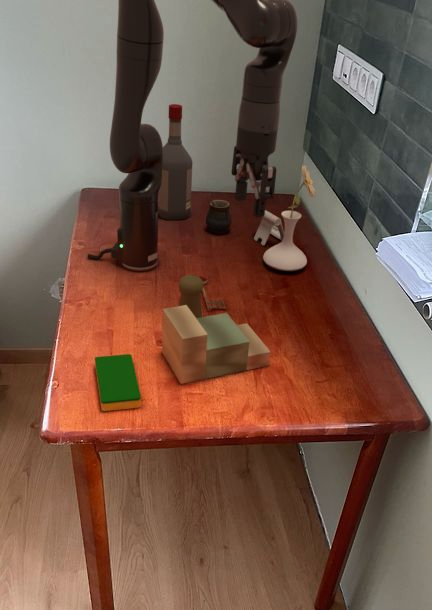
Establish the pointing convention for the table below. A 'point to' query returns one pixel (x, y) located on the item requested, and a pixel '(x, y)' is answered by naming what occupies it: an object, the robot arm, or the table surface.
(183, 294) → the brown pawn figure
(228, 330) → the stepped block
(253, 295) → the table surface
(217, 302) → the key
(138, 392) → the dish sponge
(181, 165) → the liquor
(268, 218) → the tablet stand
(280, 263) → the flower in vase
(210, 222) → the mate gourd
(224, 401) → the table surface
